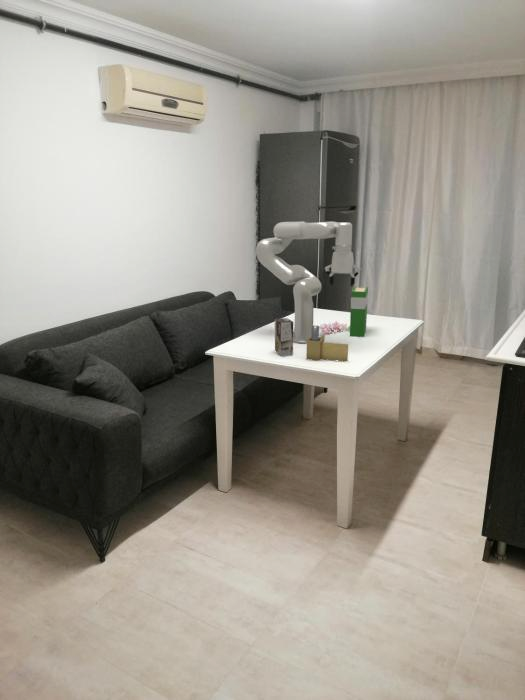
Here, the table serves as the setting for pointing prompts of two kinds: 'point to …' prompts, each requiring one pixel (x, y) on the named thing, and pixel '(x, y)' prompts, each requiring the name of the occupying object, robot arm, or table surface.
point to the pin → (315, 333)
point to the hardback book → (358, 312)
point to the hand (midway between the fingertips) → (342, 285)
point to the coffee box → (284, 336)
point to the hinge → (326, 350)
